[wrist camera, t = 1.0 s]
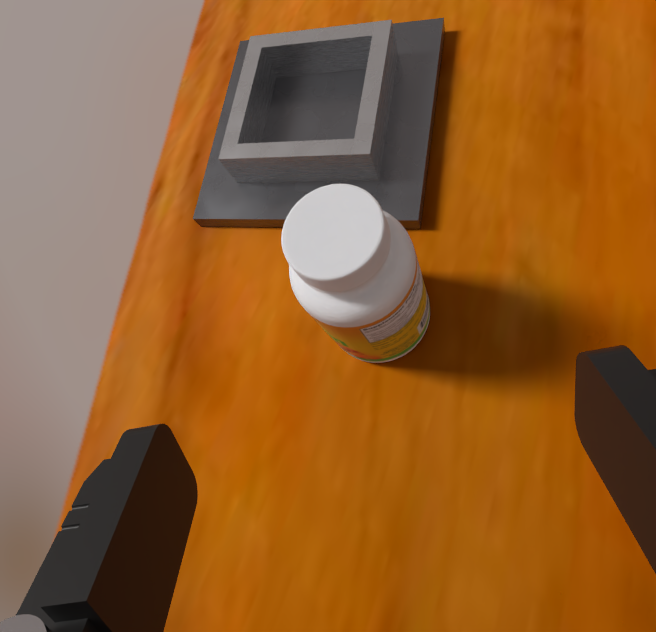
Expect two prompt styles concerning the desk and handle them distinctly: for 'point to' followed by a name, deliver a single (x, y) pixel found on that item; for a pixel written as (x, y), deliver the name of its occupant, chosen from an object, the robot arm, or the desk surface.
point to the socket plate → (325, 121)
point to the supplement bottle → (356, 272)
